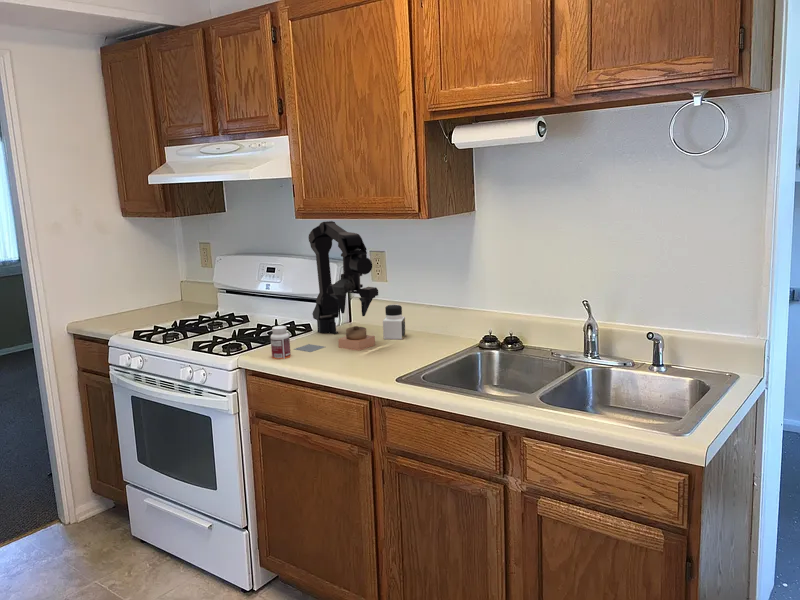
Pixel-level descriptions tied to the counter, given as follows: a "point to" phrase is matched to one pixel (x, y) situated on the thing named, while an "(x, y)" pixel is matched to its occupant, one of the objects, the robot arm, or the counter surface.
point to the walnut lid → (356, 333)
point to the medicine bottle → (393, 323)
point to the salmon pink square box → (356, 343)
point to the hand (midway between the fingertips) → (353, 314)
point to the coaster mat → (309, 348)
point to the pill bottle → (280, 343)
